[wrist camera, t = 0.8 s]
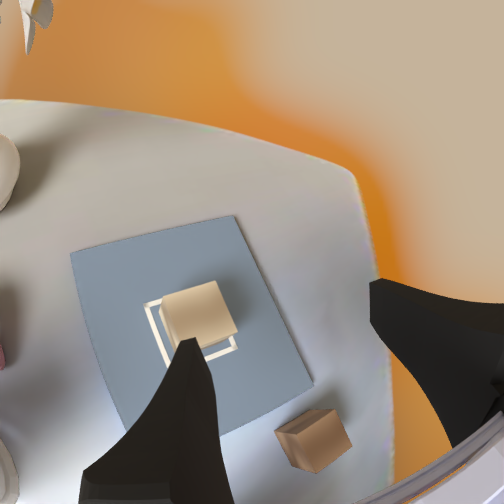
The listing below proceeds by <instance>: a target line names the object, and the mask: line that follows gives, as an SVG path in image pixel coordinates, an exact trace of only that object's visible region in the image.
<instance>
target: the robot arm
mask: <svg viewBox="0 0 504 504" xmlns="http://www.w3.org/2000/svg"><path fill="white" fill-rule="evenodd" d="M369 285H370V323H371V325H372V326H373V328H374V329H375V331H376V332H377V334H378V335H379V337H380V338H381V340H382V341H383V342H384V343H385V344H386V346H387V347H388V348H389V349H390V350H391V351H392V352H393V354H395V356H396V357H397V358H398V359H399V360H400V361H401V362H402V364H403V365H404V366H405V367H406V368H407V369H408V370H409V372H410V373H411V374H412V375H413V377H414V378H415V379H416V381H417V382H418V384H419V385H420V387H421V388H422V390H423V391H424V393H425V394H426V396H427V398H428V399H429V401H430V403H431V405H432V406H433V408H434V410H435V411H436V413H437V415H438V417H439V419H440V421H441V423H442V425H443V427H444V429H445V432H446V434H447V436H448V438H449V441H450V443H451V446H452V448H453V449H452V450H450V451H449V452H447V453H446V454H444V455H443V456H441V457H440V458H438V459H437V460H435V461H434V462H432V463H431V464H429V465H427V466H426V467H424V468H423V469H421V470H419V471H417V472H416V473H414V474H412V475H410V476H409V477H407V478H405V479H403V480H401V481H400V482H398V483H396V484H394V485H392V486H390V487H388V488H386V489H384V490H382V491H380V492H378V493H376V494H373V495H371V496H369V497H367V498H365V499H362V500H360V501H358V502H355V503H353V504H402V503H404V502H406V501H408V500H410V499H411V498H413V497H415V496H417V495H418V494H420V493H422V492H423V491H425V490H427V489H428V488H430V487H431V486H433V485H435V484H436V483H438V482H439V481H441V480H442V479H444V478H445V477H447V476H448V475H450V474H451V473H452V472H454V471H455V470H457V469H458V468H459V467H461V466H462V465H464V464H465V463H466V462H467V463H466V465H465V466H464V467H463V468H462V469H460V470H459V471H458V472H456V473H455V474H453V475H452V476H451V477H449V478H448V479H446V480H445V481H443V482H442V483H440V484H439V485H437V486H436V487H434V488H433V489H431V490H429V491H428V492H426V493H424V494H423V495H421V496H420V497H418V498H416V499H415V500H413V501H411V502H410V503H408V504H504V304H503V303H502V304H498V303H496V304H495V303H480V302H470V301H464V300H458V299H453V298H448V297H444V296H440V295H436V294H433V293H429V292H426V291H423V290H419V289H416V288H413V287H410V286H407V285H404V284H401V283H397V282H394V281H391V280H387V279H383V278H381V279H378V280H375V281H373V282H370V283H369ZM78 504H234V500H233V497H232V493H231V490H230V486H229V482H228V478H227V474H226V470H225V466H224V462H223V457H222V453H221V446H220V438H219V427H218V415H217V403H216V394H215V388H214V384H213V379H212V374H211V372H210V369H209V367H208V365H207V363H206V360H205V358H204V356H203V353H202V351H201V349H200V346H199V344H198V341H197V339H196V337H193V338H190V339H186V340H182V341H180V343H179V345H178V347H177V349H176V351H175V354H174V356H173V358H172V361H171V363H170V365H169V367H168V369H167V371H166V373H165V375H164V378H163V380H162V382H161V383H160V385H159V387H158V389H157V391H156V392H155V394H154V396H153V398H152V399H151V401H150V403H149V404H148V406H147V407H146V409H145V410H144V412H143V413H142V414H141V416H140V417H139V418H138V420H137V421H136V422H135V423H134V424H133V426H132V427H131V428H130V429H129V430H128V431H127V433H126V434H125V435H124V436H123V437H122V438H121V439H120V440H119V441H118V442H117V443H116V444H115V445H114V446H113V447H112V448H111V449H110V450H109V451H108V452H107V453H105V454H104V455H103V456H102V457H101V458H99V459H98V460H97V461H96V462H94V463H93V464H92V465H90V466H89V467H88V468H86V469H85V470H84V471H83V474H82V480H81V486H80V494H79V502H78Z"/></svg>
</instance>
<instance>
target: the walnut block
mask: <svg viewBox="0 0 504 504" xmlns="http://www.w3.org/2000/svg"><path fill="white" fill-rule="evenodd" d="M274 432H275V434H276V436H277V438H278V440H279V442H280V444H281V446H282V448H283V450H284V452H285V454H286V455H287V457H288V459H289V461H290V463H291V465H292V466H293V467H296V468H300V469H303V470H306V471H310V472H313V473H318V472H319V471H321V470H322V469H323V468H325V467H326V466H328V465H329V464H330V463H332V462H333V461H334V460H336V459H337V458H338V457H340V456H341V455H342V454H343V453H345V452H346V451H347V450H349V449H350V448H351V447H352V444H351V442H350V440H349V438H348V436H347V433H346V431H345V429H344V427H343V425H342V423H341V421H340V419H339V416H338V414H337V412H336V410H335V409H325V410H309V411H307V412H305V413H304V414H302V415H301V416H299V417H297V418H296V419H294V420H292V421H291V422H289V423H287V424H286V425H284V426H282V427H280V428H279V429H277V430H275V431H274Z"/></svg>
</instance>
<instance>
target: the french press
mask: <svg viewBox="0 0 504 504" xmlns="http://www.w3.org/2000/svg"><path fill="white" fill-rule="evenodd" d="M18 497H19V476H18V474H17V471H16V468H15V465H14V463H13V460H12V457H11V455H10V453H9V451H8V450H7V448H6V447H5V445H4V444H3V442H2V440H1V439H0V504H15V503H16V501H17V499H18Z"/></svg>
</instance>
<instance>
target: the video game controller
mask: <svg viewBox="0 0 504 504" xmlns="http://www.w3.org/2000/svg"><path fill="white" fill-rule="evenodd" d="M4 366H5V358H4V353H3V350H2V347H1V344H0V370H3V369H4Z"/></svg>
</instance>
